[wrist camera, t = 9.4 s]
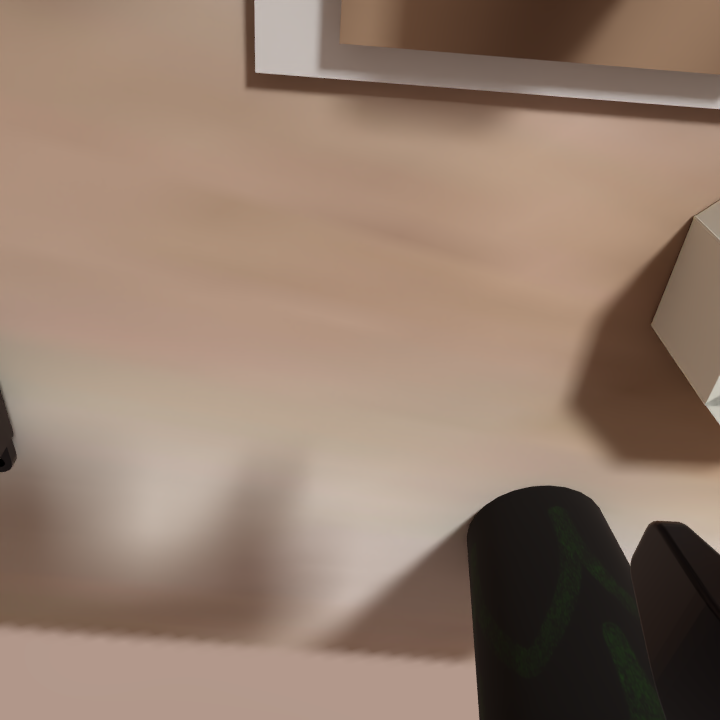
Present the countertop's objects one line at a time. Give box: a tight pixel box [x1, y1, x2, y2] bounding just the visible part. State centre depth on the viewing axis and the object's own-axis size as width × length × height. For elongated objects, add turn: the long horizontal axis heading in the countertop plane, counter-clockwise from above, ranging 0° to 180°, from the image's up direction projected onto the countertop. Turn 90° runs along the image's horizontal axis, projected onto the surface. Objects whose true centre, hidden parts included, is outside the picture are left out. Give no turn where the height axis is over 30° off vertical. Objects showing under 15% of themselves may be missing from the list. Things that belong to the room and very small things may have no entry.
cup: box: [467, 486, 666, 720], centre depth 23 cm, size 8×8×12 cm
